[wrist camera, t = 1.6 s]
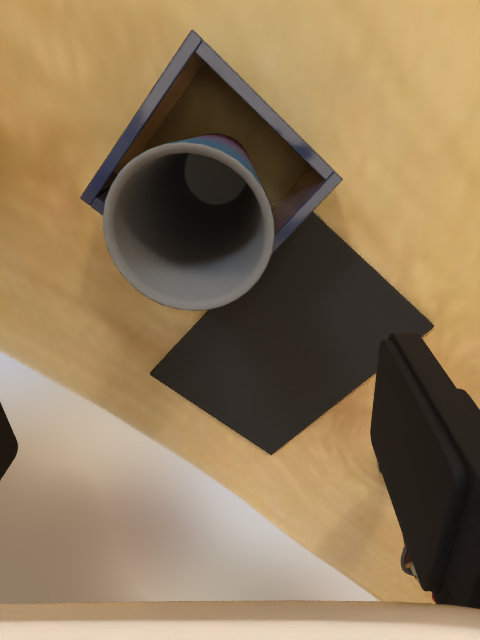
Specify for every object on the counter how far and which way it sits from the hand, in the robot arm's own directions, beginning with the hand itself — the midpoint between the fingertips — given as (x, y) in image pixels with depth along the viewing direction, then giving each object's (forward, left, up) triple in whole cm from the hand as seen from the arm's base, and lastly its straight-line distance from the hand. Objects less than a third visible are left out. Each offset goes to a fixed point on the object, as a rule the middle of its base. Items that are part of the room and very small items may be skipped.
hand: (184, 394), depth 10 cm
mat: (+12, -7, -23) cm, 27 cm away
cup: (-2, 0, -23) cm, 23 cm away
